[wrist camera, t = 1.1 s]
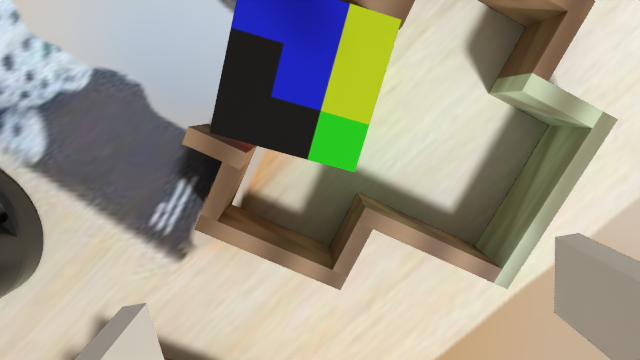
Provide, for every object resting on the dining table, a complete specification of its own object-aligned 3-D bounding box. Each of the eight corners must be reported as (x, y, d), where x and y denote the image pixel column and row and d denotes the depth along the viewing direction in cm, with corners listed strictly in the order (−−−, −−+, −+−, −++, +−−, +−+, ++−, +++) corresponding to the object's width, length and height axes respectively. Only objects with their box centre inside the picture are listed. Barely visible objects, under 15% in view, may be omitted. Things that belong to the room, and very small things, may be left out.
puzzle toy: (266, 16, 29) (242, -31, 19) (372, 48, 30) (401, 19, 20) (241, 125, 31) (209, 132, 21) (341, 152, 32) (354, 172, 22)
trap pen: (179, 197, 32) (155, 212, 27) (304, -121, 27) (302, -172, 22) (449, 312, 36) (471, 344, 31) (610, 53, 30) (667, 43, 25)
